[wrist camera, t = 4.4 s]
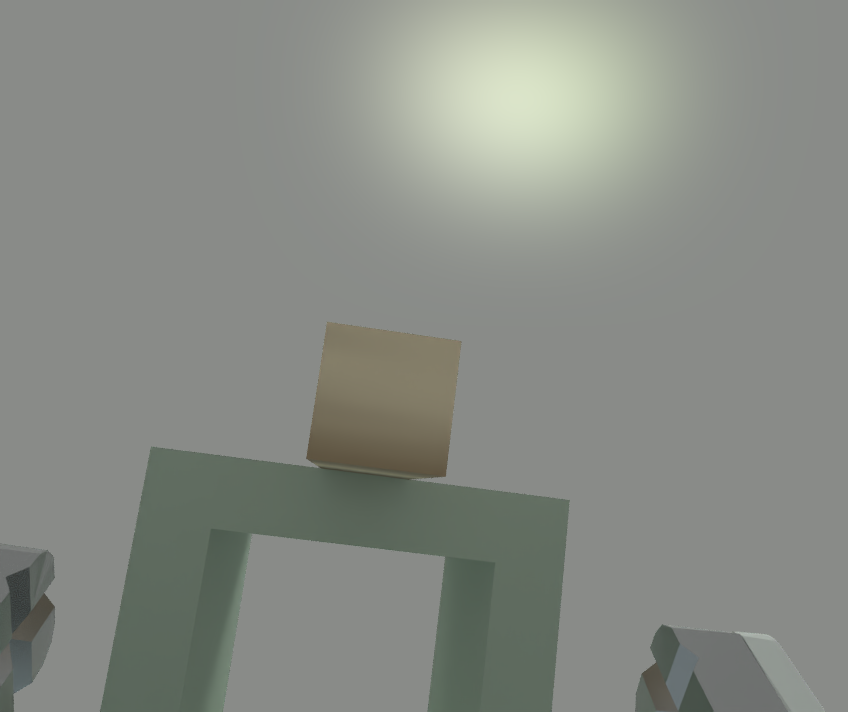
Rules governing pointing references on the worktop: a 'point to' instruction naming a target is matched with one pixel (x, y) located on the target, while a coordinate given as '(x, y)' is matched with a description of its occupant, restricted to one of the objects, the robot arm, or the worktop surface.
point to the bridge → (342, 524)
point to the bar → (384, 403)
